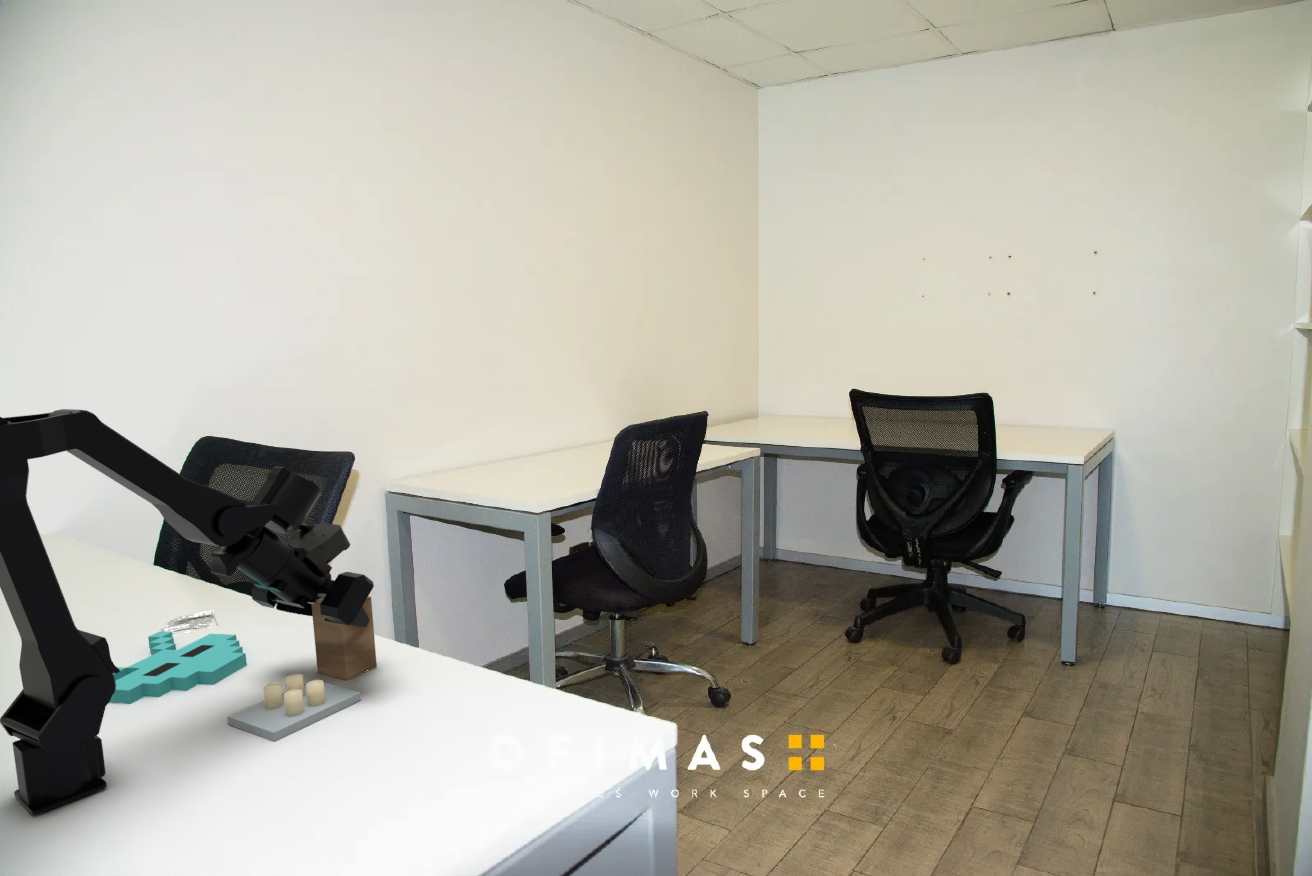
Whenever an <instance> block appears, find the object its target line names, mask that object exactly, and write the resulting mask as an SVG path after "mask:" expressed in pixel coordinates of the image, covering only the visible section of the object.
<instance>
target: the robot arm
mask: <svg viewBox="0 0 1312 876" xmlns="http://www.w3.org/2000/svg"><path fill="white" fill-rule="evenodd" d="M63 452H67V453H69V454H71V455H72V456H74V457H75V458H77V459H79V460H80V461H82V462H84V464H85V463H86V464H87V465H88V466H90V467H92V468H93V469H95V470H96V471H98V472H100V473H101V474H103V475H105V476H106V477H108V478H110V479H111V480H113V481H114V482H116V483H118V484H119V485H120V486H122V487H124V488H125V489H127V490H129V491H130V492H132V493H133V494H135V495H137V496H138V497H140V498H142V499H143V500H144V501H147V502H148V503H150V504H151V505H152V506H153V507H155V509H157V510H158V511H159V513H160V514H161V516H162V518H163V519H164V521H165V522H166V523H167V524H168V525H170V526H171V527H172V528H173V529H174V530H175V531H176V532H177V533H178V534H179V535H180V536H182V537H183V538H184V539H185V540H188V541H190V542H193V543H200V544H205V545H210V546H216V547H221V549H220V550H218V551H214V552H211V553H210V557H211V564H210V572H211V574H213V575H218V576H219V575H220V576H225V577H229V578H230V577H232V576H233V574H234V573H235V572H236V570H237V569H238V570H240V571H241V572H242V573H243V574H245V575H247V576H248V577H249V578H251V579H253V580H254V581H253V582H252V585H253V586H252V589H251V590H250V591H251V599H252V600H253V601H254V602H256V603H257V604H258V605H260V606H262V607H265V608H271V609H276V610H278V611H281V612H286V613H290V614H297V615H301V616H308V617H313V615H312V604H315V603H316V602H317V600H318V599H320V598H324V599H323V601H322V602H321V604H320V610H321V615H322V616H324V617H325V621H328V622H333V623H337V624H345V625H354V626H361V627H366V626H367V625H368V623H369V621H370V619H369V617H368V616H367V614H366V612H365V610H364V609H363V607H362V606H363V604H364V602H365V601H366V599H367V597H368V596H369V595H370V594H371V592H372V590H373V588H374V587H375V585H374V581H373V580H371V579H370V578H369V577H368V576H366V575H365V574H362V573H357V572H352V571H345V572H341V573H339V574H337V576H336V578H335V580H334V579H329V578H328V579H327V578H324V577H325V576H326V577H327V576H328V575H329V574H330V572H331V571H332V569H333V567H332V566H331V565H330V563H331V562H332V561H333V560H334V559H336V558H337V557H338V556H339V555H340V554H341V553H343V552H344V551H347V550H348V549H349V548H350V547H351V543H350V541H349V539H348V538H347V536H346V533H345V531H344V530H343V528H342V526H341V525H340V524H336V523H335V524H333V523H327V522H326V523H325V522H322V523H319V524H318V523H314V524H313V525H312V526H311V525H310V524H306V523H303V522H304V521H305V519H306V517H307V516H308V514H309V513H310V512H311V510H312V509H313V508H314V506H315V504H316V502H317V501H318V499H319V498H320V496H321V495H322V490H321V488H320V487H319V486H318V485H317V484H316V483H315V482H314V481H313V480H308V479H306V478H305V477H303V476H301V475H299V474H297V473H295V472H292V471H290V470H289V469H288V468H286V467H284V466H273V467H272V469H271V470H270V471H269V472H268V474H267V477H266V479H265V481H264V483H262V486H260V488H259V490H258V491H256V494H255V496H254V497H253V499H252V500H247V499H242V498H241V499H240V498H237V497H235V496H233V495H230V494H228V493H225V492H224V491H221V490H218V489H216V488H212V487H210V486H207V485H204V484H202V483H198V482H195V481H194V480H190V479H188V478H186V477H185V476H184V475H182V474H180V473H179V472H177V471H176V470H174V469H172V468H171V467H170V466H168V465H167V464H165V463H164V462H162V461H161V460H159V458H156V456H153V455H152V454H151V453H149V452H147V451H146V450H144V449H143V448H141V447H140V446H139V445H137V444H135V443H134V442H132V441H131V440H129V439H128V438H126V437H125V436H124V435H122V434H120V432H118V431H116V430H114V429H113V428H112V427H110V426H108V425H107V424H106V423H104V422H103V421H102V420H100V418H99V417H98V416H97V415H96V414H95V413H94V412H91V411H89V410H87V409H72V408H71V409H70V408H69V409H68V408H66V409H65V408H62V409H57V410H54V411H52V412H46V413H45V412H44V413H38V414H29V415H18V416H9V417H2V416H0V591H1V593H2V595H3V598H4V600H5V602H6V605H7V607H8V609H9V612H10V615H11V617H12V619H13V622H14V625H15V627H16V629H17V632H18V635H19V637H20V640H21V647H20V654H19V655H20V656H19V673H20V678H21V685H22V690H21V691H20V692H19V694H18V695H17V696H16V697H15V699H14V700H13V702H11V703H10V705H9V706H8V708H7V709H6V710H5V711H4V713H3V714H2V715H1V717H0V725H1V726H2V728H3V729H4V731H5V732H6V733H7V735H8V736H9V737H15V738H17V739H19V740H15V741H13V742H12V750H13V758H14V763H15V764H14V765H15V771H16V779H17V788H18V789H16V790H14V798H15V799H17V800H18V802H19V803H20V804H21V805H22V806H23V807H24V808H25V810H27V812H29V813H30V815H31V816H36V815H39V814H42V813H45V812H47V811H50V810H52V809H55V808H58V807H60V806H63V805H66V804H68V803H70V802H74V801H76V800H79V799H81V798H84V797H86V796H89V795H91V794H95V793H97V792H99V791H102V790H104V789H106V788H107V787H108V784H107V781H106V780H105V779H104V778H103V777H104V776H106V773H107V772H106V764H105V758H104V749H103V748H104V747H103V740H102V738H101V737H100V736H98V735H99V733H100V731H101V726H102V724H103V723H102V722H103V719H104V716H105V715H104V714H105V710H106V707H107V706H108V704H109V703H110V702H109V701H110V699H111V697H112V695H113V694H114V693H115V691H116V682H115V677H114V675H113V673H119V672H120V670H119V669H118V668H117V667H118V666H116V665H115V663H114V662H113V660H112V657H111V651H110V646H109V643H108V641H107V640H108V639H107V638H106V637H104V636H100V635H98V634H94V633H92V632H87V631H84V630H81V629H78V628H77V626H76V624H75V622H74V619H73V617H72V614H71V612H70V610H69V607H68V604H67V601H66V599H65V596H64V594H63V591H62V589H61V586H60V583H59V580H58V578H57V575H56V573H55V570H54V568H53V565H52V563H51V559H50V557H49V555H48V552H47V550H46V548H45V547H46V546H45V545H44V541H43V540H42V537H41V534H40V532H39V529H38V526H37V523H36V521H35V519H34V516H33V513H32V511H31V508H30V505H29V503H28V498H27V497H28V496H27V494H28V486H29V485H28V484H29V475H30V467H29V460H32V459H39V458H42V457H43V458H44V457H47V456H51V455H56V454H59V453H63ZM288 530H290V531H291V541H292V545H293V546H292V545H290V544H289V543H287V542H286V541H285V540H283V539H282V538H281V537H279V536H278V535H277V534H276V533H279V534H284V535H285V534H286V533H287V531H288ZM274 532H275V533H274ZM369 597H370V596H369ZM276 602H277V603H276Z"/></svg>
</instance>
